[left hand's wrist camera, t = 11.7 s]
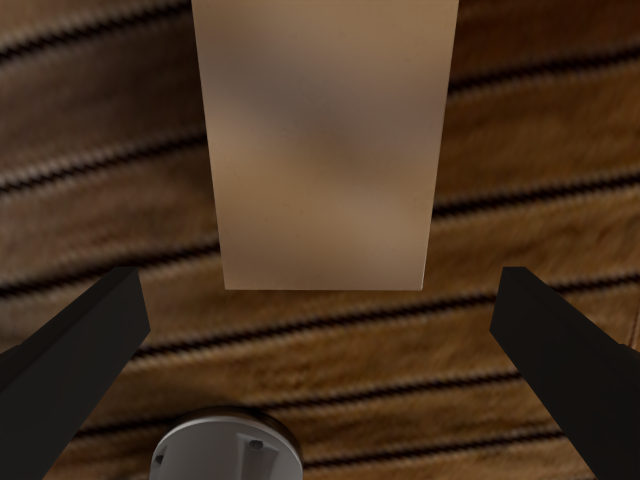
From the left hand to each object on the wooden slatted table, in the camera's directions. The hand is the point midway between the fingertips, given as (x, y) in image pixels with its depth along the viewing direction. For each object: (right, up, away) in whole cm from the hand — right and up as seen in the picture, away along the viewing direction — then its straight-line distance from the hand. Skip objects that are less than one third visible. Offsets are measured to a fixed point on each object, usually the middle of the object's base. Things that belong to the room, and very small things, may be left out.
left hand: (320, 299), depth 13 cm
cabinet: (0, +12, +11) cm, 16 cm away
